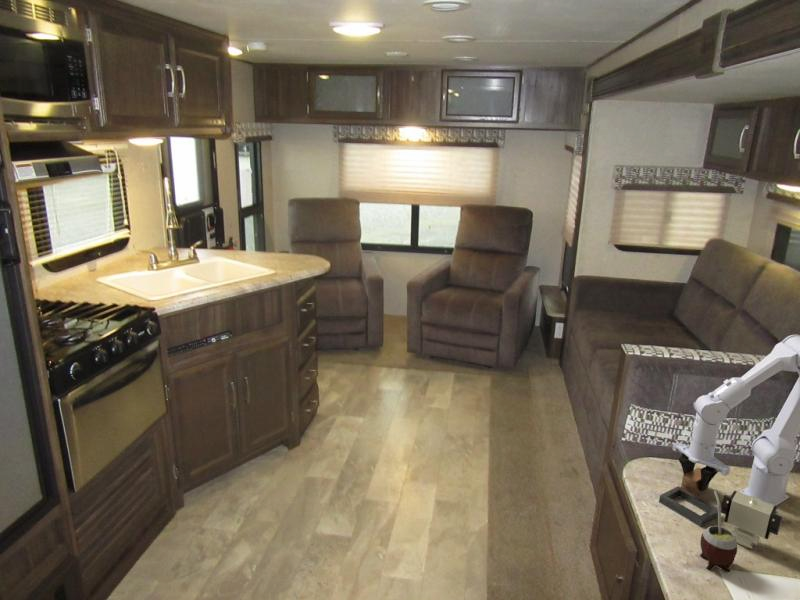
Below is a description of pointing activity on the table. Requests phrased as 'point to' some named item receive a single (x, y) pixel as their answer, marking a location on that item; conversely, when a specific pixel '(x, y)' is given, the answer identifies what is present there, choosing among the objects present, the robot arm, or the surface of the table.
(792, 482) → the table surface
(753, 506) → the pneumatic valve
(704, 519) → the duct collar
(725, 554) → the mate gourd
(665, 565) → the table surface
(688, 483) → the brown rectangular block
